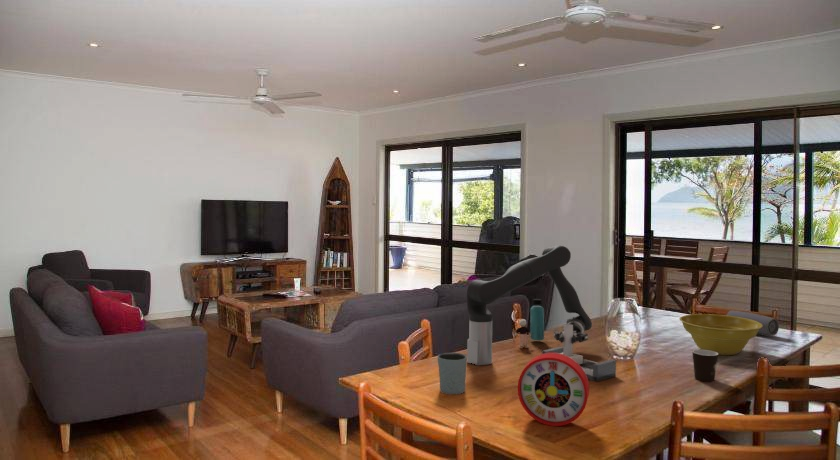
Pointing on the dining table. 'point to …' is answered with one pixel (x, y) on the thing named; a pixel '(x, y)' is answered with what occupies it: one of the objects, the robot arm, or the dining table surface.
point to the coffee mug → (704, 365)
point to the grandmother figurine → (523, 334)
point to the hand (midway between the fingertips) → (567, 340)
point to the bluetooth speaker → (768, 323)
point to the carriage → (570, 344)
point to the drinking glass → (452, 372)
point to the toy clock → (553, 389)
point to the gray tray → (593, 367)
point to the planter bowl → (720, 332)
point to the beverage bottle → (537, 321)
